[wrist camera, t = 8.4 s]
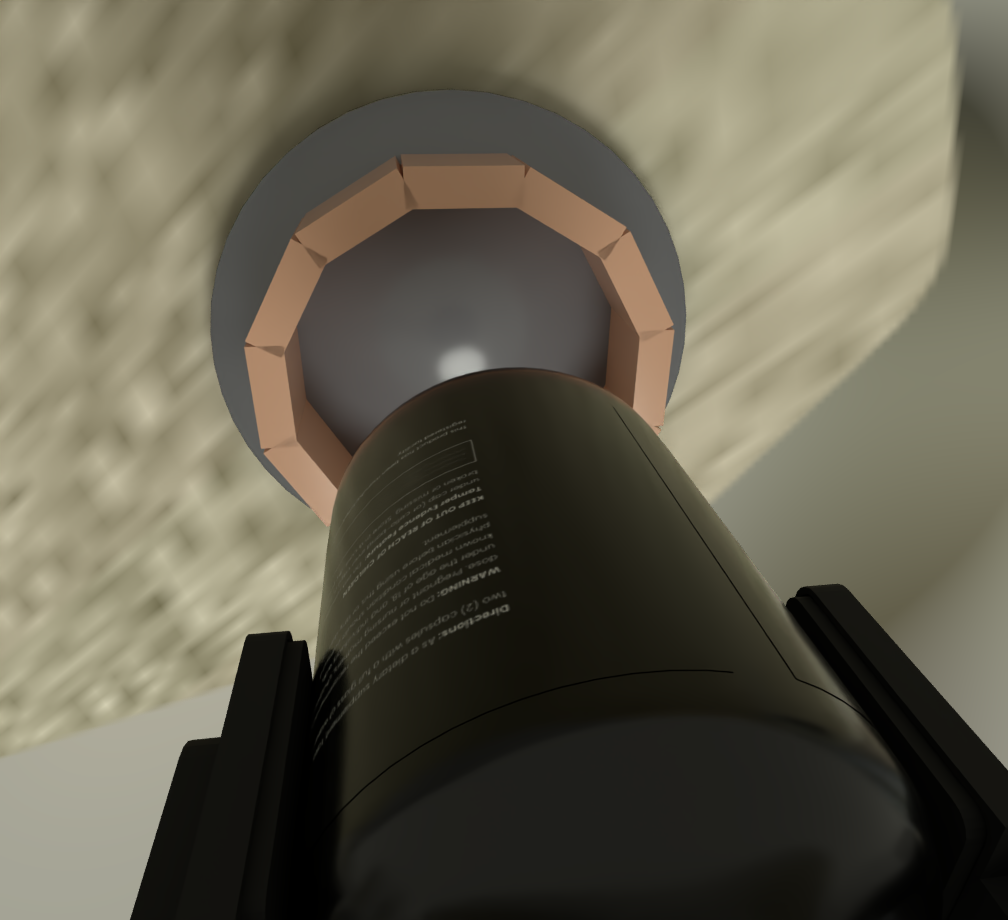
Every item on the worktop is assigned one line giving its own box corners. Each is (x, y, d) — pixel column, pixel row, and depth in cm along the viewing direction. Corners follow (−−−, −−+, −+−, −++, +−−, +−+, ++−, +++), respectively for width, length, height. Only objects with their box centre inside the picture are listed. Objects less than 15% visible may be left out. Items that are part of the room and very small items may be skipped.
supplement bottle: (380, 672, 16) (357, 1753, 6) (289, 396, 13) (-139, 1736, 3) (679, 608, 17) (1168, 1530, 6) (662, 321, 13) (1661, 1258, 3)
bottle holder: (257, 545, 27) (237, 619, 23) (173, 88, 20) (126, 92, 16) (650, 516, 29) (689, 580, 25) (700, 90, 22) (764, 93, 18)
